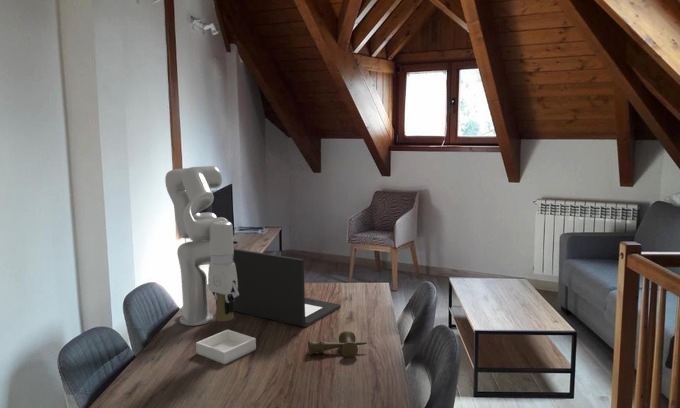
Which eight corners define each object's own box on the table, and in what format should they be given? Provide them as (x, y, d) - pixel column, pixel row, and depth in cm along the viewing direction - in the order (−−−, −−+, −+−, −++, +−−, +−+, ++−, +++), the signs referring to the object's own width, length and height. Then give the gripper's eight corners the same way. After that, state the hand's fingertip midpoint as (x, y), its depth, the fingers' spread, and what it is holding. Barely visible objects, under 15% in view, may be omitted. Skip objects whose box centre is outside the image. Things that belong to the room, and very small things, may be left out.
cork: (229, 321, 175) (228, 289, 173) (212, 320, 176) (210, 288, 174) (236, 315, 181) (235, 284, 179) (219, 314, 182) (218, 283, 180)
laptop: (341, 308, 222) (340, 245, 218) (303, 329, 199) (302, 260, 195) (271, 294, 241) (269, 236, 237) (230, 312, 219) (227, 248, 214)
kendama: (307, 349, 183) (365, 345, 184) (308, 362, 173) (369, 357, 175) (307, 333, 182) (364, 328, 183) (308, 345, 172) (369, 340, 174)
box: (196, 353, 179) (196, 342, 178) (228, 339, 190) (227, 329, 189) (224, 364, 170) (224, 352, 170) (256, 349, 182) (255, 338, 181)
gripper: (197, 257, 177) (199, 310, 180) (231, 264, 167) (233, 320, 170) (214, 253, 183) (217, 304, 186) (248, 259, 173) (250, 313, 176)
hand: (224, 311), depth 178 cm, fingers closed on cork, 3 cm apart
